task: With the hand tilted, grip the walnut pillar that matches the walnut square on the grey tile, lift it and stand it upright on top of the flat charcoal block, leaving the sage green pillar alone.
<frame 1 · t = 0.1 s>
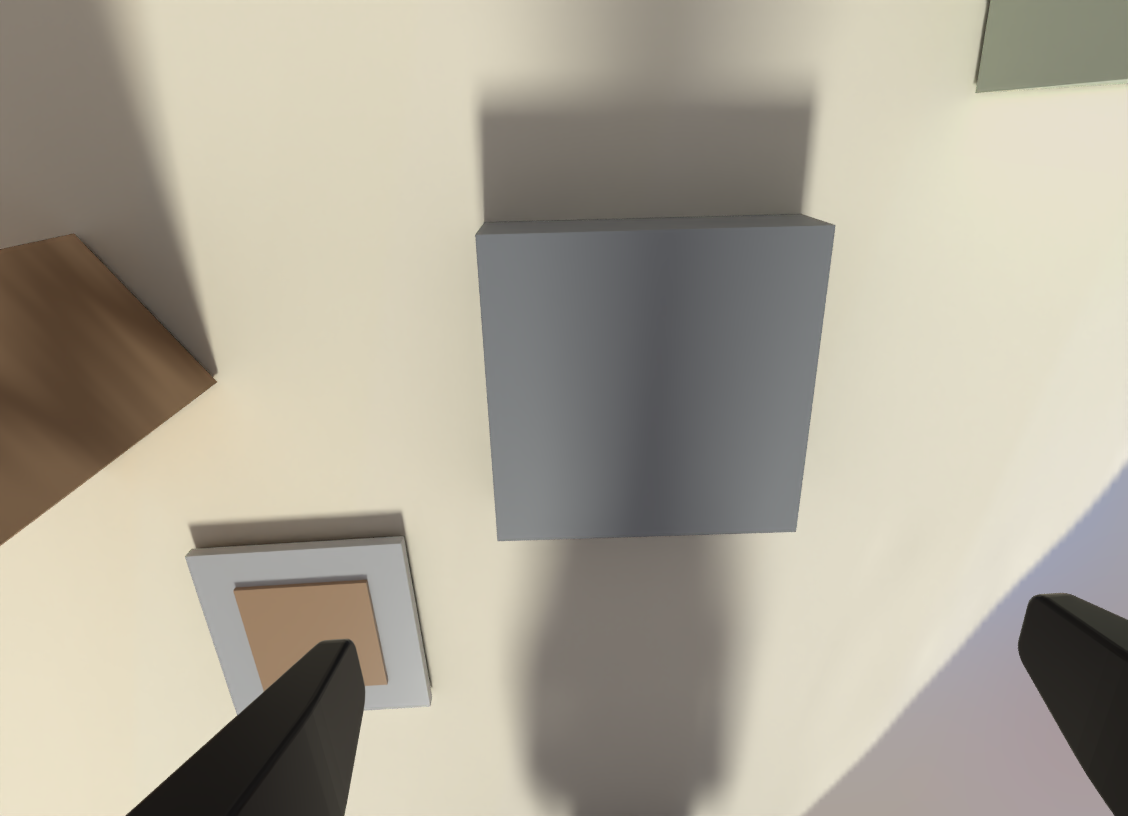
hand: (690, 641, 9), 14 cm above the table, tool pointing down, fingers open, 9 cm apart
walnut pillar: (86, 361, 22), on the table
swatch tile: (318, 627, 27), on the table
slate block: (638, 365, 23), on the table
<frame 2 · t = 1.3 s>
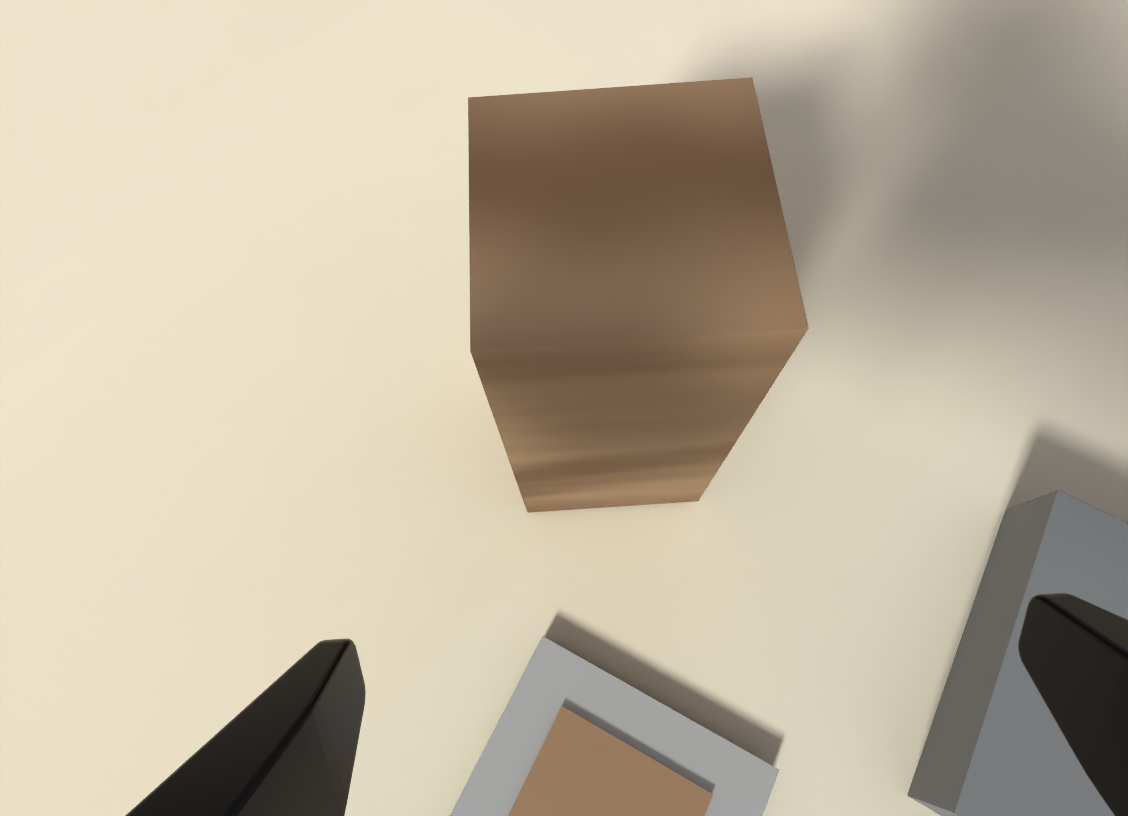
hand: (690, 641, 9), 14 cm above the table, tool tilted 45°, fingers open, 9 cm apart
walnut pillar: (605, 426, 25), on the table
slate block: (1114, 728, 21), on the table
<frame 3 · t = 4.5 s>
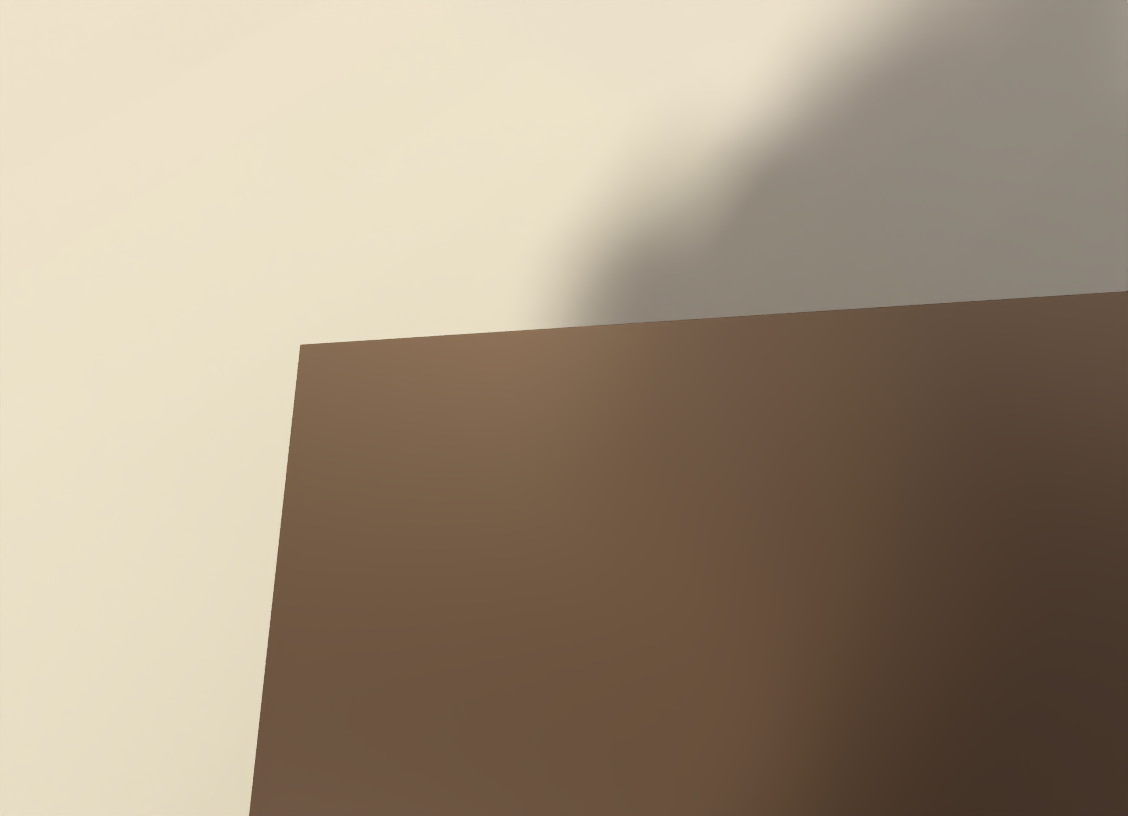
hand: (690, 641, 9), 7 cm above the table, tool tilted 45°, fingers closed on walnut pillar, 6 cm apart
walnut pillar: (652, 727, 14), on the table, touching gripper
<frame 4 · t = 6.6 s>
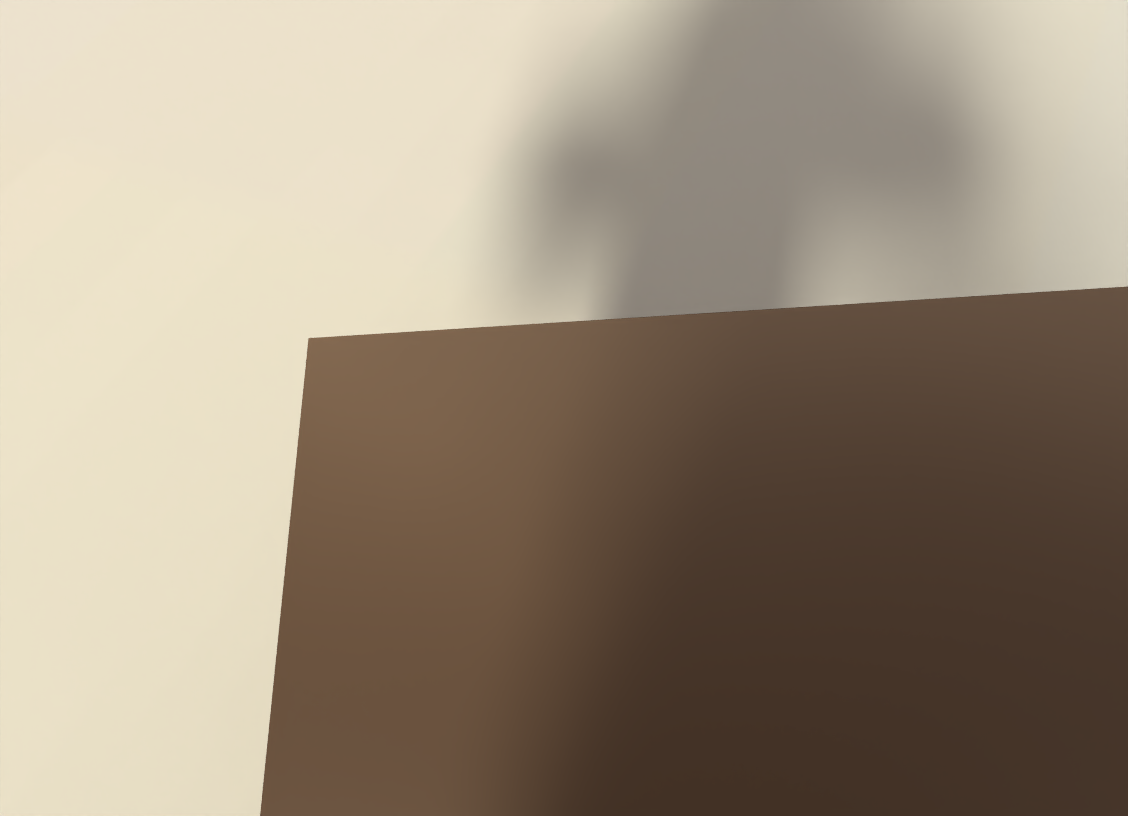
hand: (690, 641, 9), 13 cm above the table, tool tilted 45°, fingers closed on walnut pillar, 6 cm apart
walnut pillar: (650, 724, 15), point 7 cm above the table, touching gripper
when the fingers open (10 cm above the table, at t = 8.7 s): walnut pillar drops 1 cm, resting on slate block.
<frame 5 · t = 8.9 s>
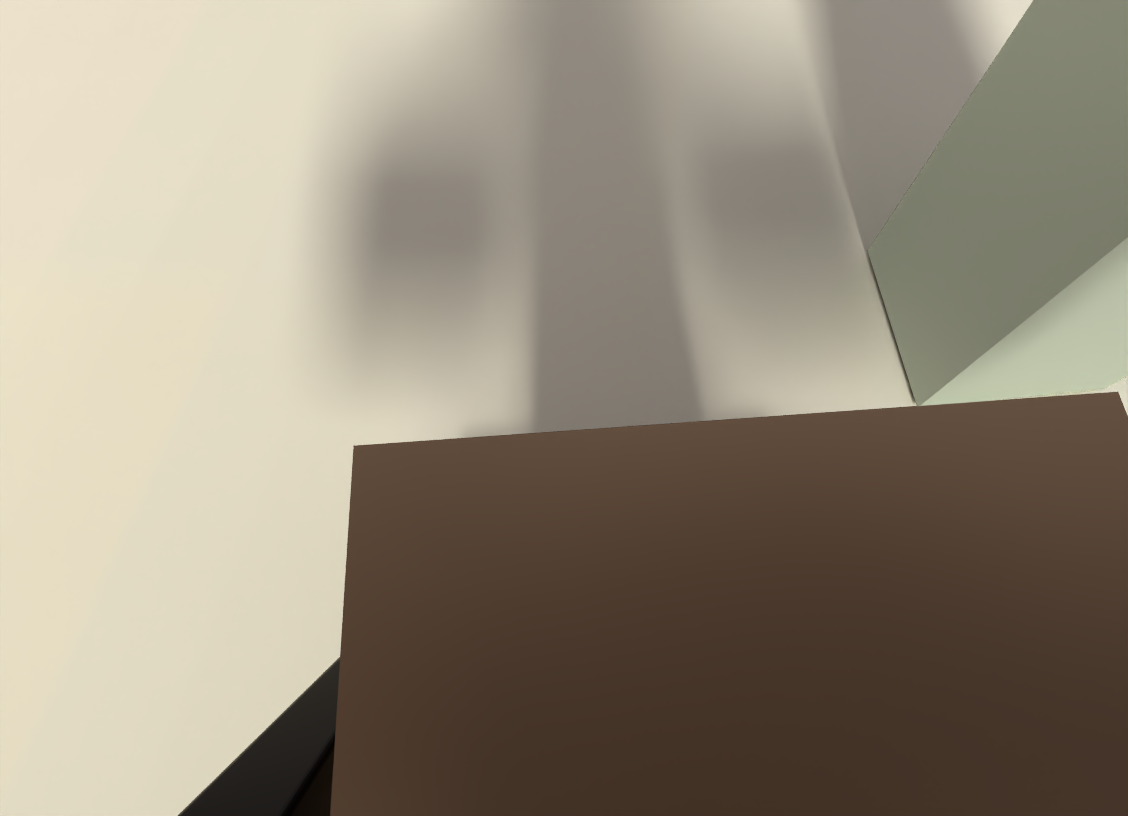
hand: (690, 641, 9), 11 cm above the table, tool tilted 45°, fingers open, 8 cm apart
walnut pillar: (654, 722, 16), point 3 cm above the table, touching slate block
sage pillar: (979, 316, 22), on the table
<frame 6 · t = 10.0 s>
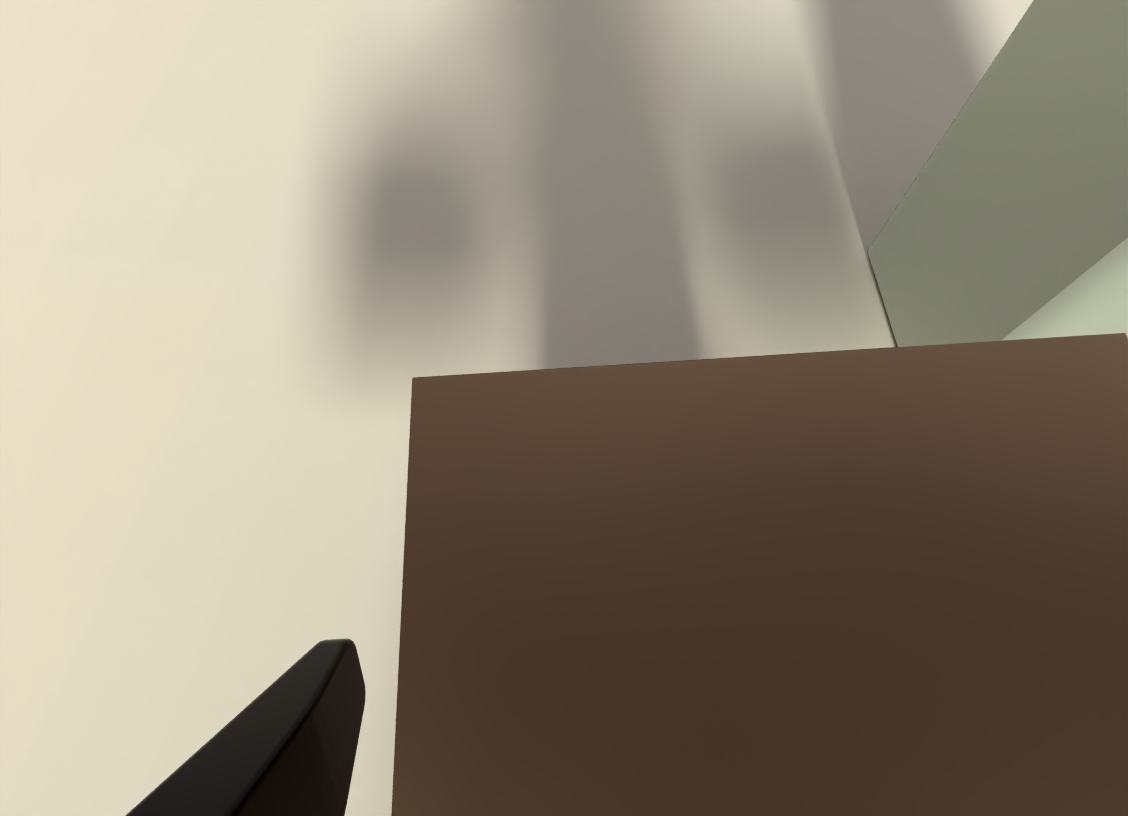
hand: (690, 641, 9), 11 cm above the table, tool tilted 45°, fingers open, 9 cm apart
walnut pillar: (664, 712, 16), point 2 cm above the table
sage pillar: (979, 317, 22), on the table
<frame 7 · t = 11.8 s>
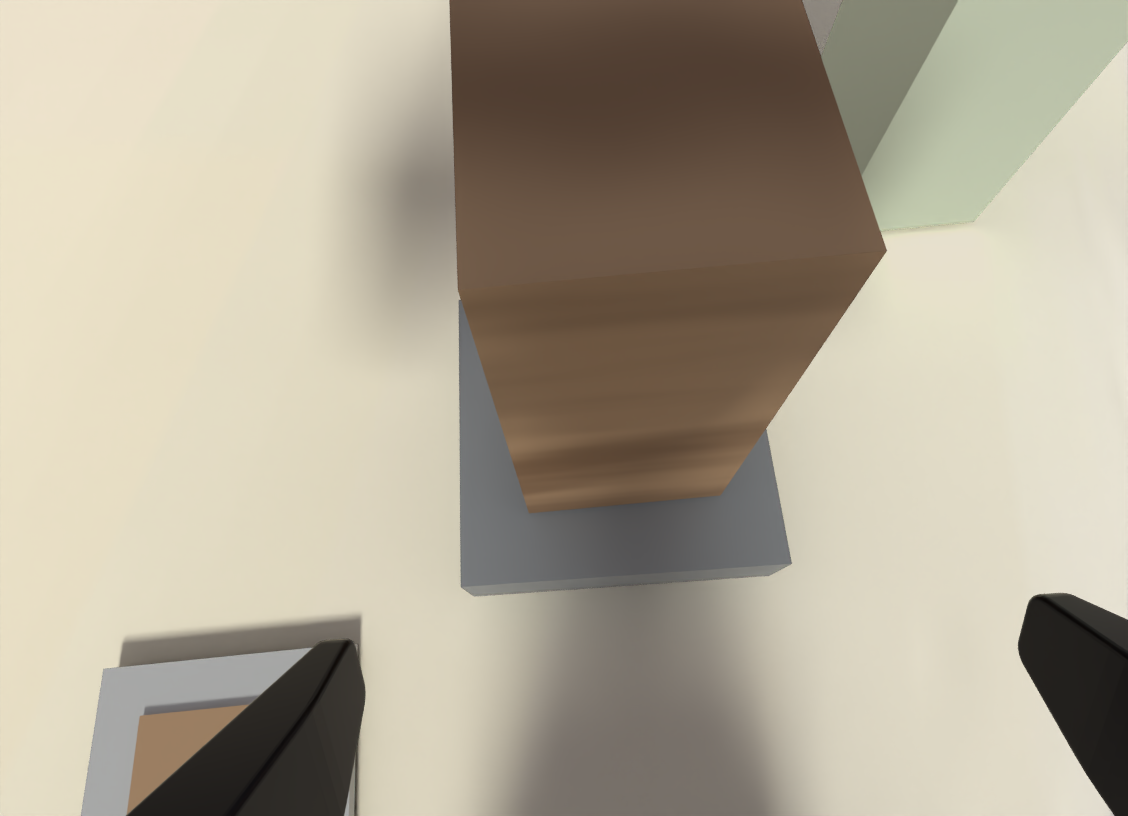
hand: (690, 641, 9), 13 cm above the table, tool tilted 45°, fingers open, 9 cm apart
walnut pillar: (613, 415, 22), point 2 cm above the table, touching slate block
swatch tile: (224, 795, 20), on the table
slate block: (608, 449, 25), on the table, touching walnut pillar
sage pillar: (881, 171, 28), on the table
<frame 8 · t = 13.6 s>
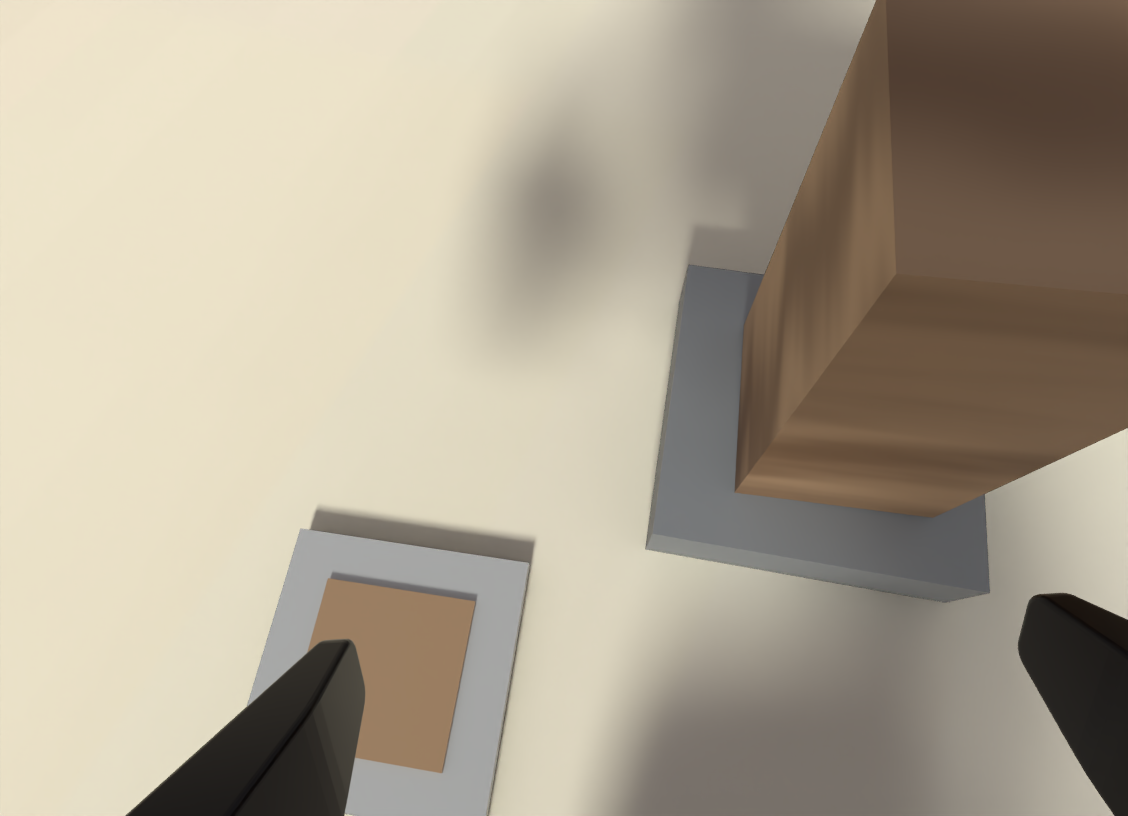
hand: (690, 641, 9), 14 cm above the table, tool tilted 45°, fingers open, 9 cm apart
walnut pillar: (832, 415, 22), point 3 cm above the table, touching slate block
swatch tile: (387, 670, 22), on the table
slate block: (796, 441, 25), on the table, touching walnut pillar
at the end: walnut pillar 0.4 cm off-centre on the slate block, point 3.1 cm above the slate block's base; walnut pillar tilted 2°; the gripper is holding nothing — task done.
